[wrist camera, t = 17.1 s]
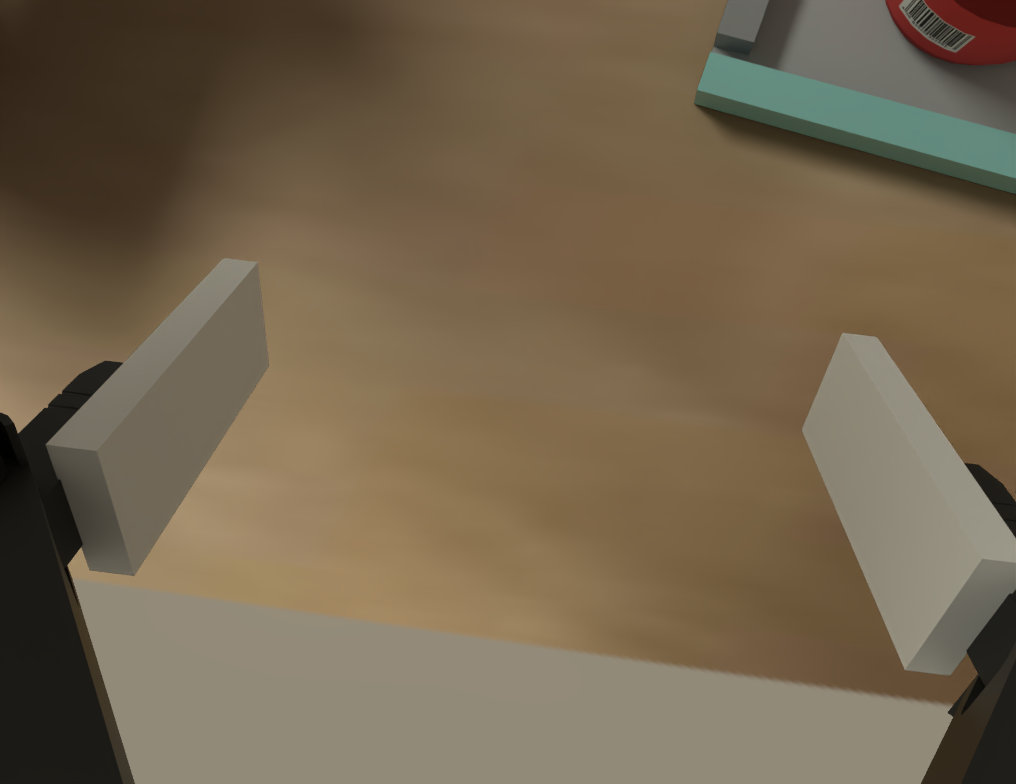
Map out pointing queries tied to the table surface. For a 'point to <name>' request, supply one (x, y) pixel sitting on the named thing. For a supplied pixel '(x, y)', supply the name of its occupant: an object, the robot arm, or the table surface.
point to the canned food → (959, 29)
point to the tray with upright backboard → (862, 87)
